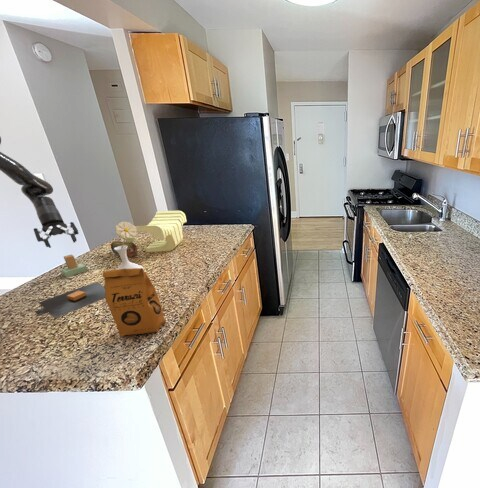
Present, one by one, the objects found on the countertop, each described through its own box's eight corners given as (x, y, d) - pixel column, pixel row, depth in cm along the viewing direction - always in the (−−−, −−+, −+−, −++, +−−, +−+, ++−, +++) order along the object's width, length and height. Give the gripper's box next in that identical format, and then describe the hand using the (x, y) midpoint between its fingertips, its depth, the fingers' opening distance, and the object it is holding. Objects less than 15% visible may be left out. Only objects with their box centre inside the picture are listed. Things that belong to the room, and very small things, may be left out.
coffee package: (157, 336, 82) (138, 275, 74) (114, 340, 81) (90, 278, 72) (170, 316, 91) (154, 260, 83) (132, 320, 90) (112, 263, 82)
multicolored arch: (112, 255, 140) (107, 240, 137) (118, 253, 143) (113, 238, 140) (135, 258, 137) (130, 243, 134) (140, 255, 140) (136, 241, 137)
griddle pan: (46, 325, 87) (45, 322, 87) (30, 308, 96) (29, 305, 96) (123, 293, 106) (123, 290, 105) (104, 281, 114) (103, 279, 114)
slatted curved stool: (169, 256, 138) (161, 225, 132) (137, 258, 137) (127, 226, 130) (190, 237, 166) (184, 210, 159) (163, 238, 164) (157, 211, 158)
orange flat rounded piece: (74, 300, 98) (73, 297, 98) (67, 298, 100) (66, 295, 99) (86, 295, 102) (85, 292, 101) (79, 293, 103) (78, 290, 103)
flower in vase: (116, 283, 112) (98, 229, 103) (111, 275, 120) (93, 223, 110) (151, 273, 121) (136, 222, 112) (144, 265, 128) (130, 217, 119)
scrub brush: (65, 277, 118) (58, 260, 115) (62, 274, 120) (54, 258, 117) (87, 270, 124) (81, 254, 121) (83, 267, 126) (77, 252, 123)
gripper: (26, 215, 117) (39, 244, 115) (68, 209, 127) (81, 236, 125) (30, 224, 122) (42, 252, 120) (70, 217, 132) (83, 243, 130)
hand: (62, 244), depth 122 cm, fingers open, 8 cm apart
